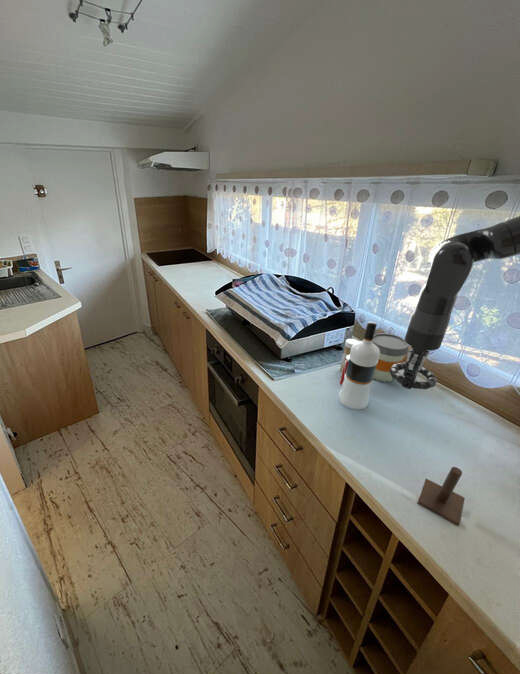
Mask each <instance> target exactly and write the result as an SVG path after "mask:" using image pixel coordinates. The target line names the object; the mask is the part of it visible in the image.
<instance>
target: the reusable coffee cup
mask: <svg viewBox="0 0 520 674" xmlns="http://www.w3.org/2000/svg"><path fill="white" fill-rule="evenodd" d="M372 343H373V344H375V345H376V346H377V347H378V348H379V350H380V356H379V359H378V363H377V364H376V368H375V372H374V375H373V378H374V379H373V380H375V379H376V380H375V381H378V380H380V381H379V382H382V381H388V382H391V381H393V380H394V379H393V378H392V376H391V374H390V372H389V370H390V368H391V367H392V365H394V364H398V363H404V360H405V356H406V355H407V354H408V352H409V346H410V345H409V344H407V343H406V341H405V338H403V337H401V336H399V335H395V334H393V333H383V332H382V333H375V334H374V337H373V342H372Z"/></svg>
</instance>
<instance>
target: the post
mask: <svg viewBox="0 0 520 674" xmlns="http://www.w3.org/2000/svg"><path fill="white" fill-rule="evenodd" d="M462 475H463V471H462V470H461V469H460V468H458V467H457V466H452V467H451V468H450V470H449V472H448V473H447V475H446V478H445V479H444V481H443V484H442V485H440V484H438V483H436V482H435V481H432V480H430V479H429V478H425V480H424V483H423V485H422V489H421V492H420V495H419V497H418V500H417V504H418V505H419V506H421V507H423V508H425V509H426V510H428V511H430V512H432V513H434V514H435V515H437V516H439V517H441V518H442V519H445V520H446V521H448V522H449V523H451V524H454V525H455V526H457V527H459V525H460V524H461V520H462V514H463V508H464V504H465V499H466V498H465V497H464V496H462V495H460V494H458V493H456V492H454V490H455V488H456V486H457V484H458V482H459V480H460V479H461V477H462Z"/></svg>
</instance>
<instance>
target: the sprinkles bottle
mask: <svg viewBox="0 0 520 674" xmlns="http://www.w3.org/2000/svg"><path fill="white" fill-rule="evenodd" d="M356 342H359V341H358V340H357V339H354V338H347V339H346V340H345V343H344V349H343V353H342V358H341V363H340V368H339V371H340V372H341V373H342V370H343V365H344V361H345V358H346V357H347V355H350V350H351V347H352V345H353V344H355V343H356Z"/></svg>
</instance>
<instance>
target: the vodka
mask: <svg viewBox="0 0 520 674" xmlns="http://www.w3.org/2000/svg"><path fill="white" fill-rule="evenodd" d="M377 326H378V324H377V323H376V322H375V321H367V323H366V327H365V332H364V335H363V339H362V340H360V341H358V342H356V343H355V344H353V345H352V347H351V350H350V355H349V362H348V366H347V371H346V374H345V379H344V384H343V386H341V390H340V391H339V394H338V401H339V402H340V403H341V404H342V405H343V406H345V407H346V408H349V409H352V410H364V409H366V408H367V407H368V405H369V400H370V399H369V395H370V390H371V386H372V384H373V380H374V379H373V375H374V372H375V368H376V364H377V363H378V359H379V356H380V350H379V348H378V347H377V346H376V345H375V344H373V343H372V342H373V337H374V335H375V334H376V330H377Z"/></svg>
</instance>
